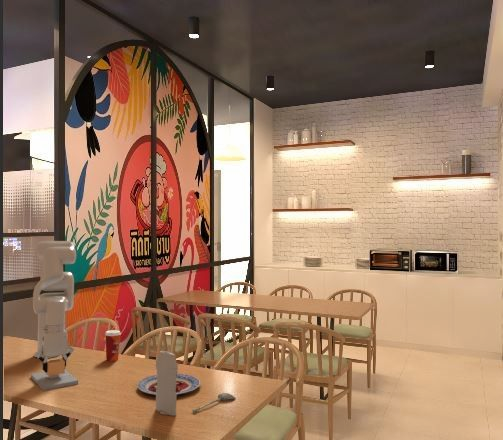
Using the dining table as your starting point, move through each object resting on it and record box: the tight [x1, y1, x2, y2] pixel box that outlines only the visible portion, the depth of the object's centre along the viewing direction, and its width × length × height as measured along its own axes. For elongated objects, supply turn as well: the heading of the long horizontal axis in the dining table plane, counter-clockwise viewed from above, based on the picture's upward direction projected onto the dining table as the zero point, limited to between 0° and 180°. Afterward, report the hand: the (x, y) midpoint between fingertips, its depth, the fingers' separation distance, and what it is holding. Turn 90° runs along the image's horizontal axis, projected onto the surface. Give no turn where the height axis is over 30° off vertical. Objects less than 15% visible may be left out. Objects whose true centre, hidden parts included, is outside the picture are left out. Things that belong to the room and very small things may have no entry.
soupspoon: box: [191, 392, 236, 414], centre depth 177 cm, size 22×3×7 cm
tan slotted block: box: [45, 357, 66, 376], centre depth 200 cm, size 7×7×5 cm
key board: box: [30, 369, 79, 392], centre depth 200 cm, size 20×14×5 cm
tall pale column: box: [155, 350, 179, 417], centre depth 169 cm, size 11×4×22 cm, turn 56°
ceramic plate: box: [136, 373, 201, 396], centre depth 194 cm, size 26×26×3 cm
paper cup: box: [104, 329, 122, 362], centre depth 233 cm, size 8×8×14 cm
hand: (54, 369), depth 200 cm, fingers closed on tan slotted block, 6 cm apart
